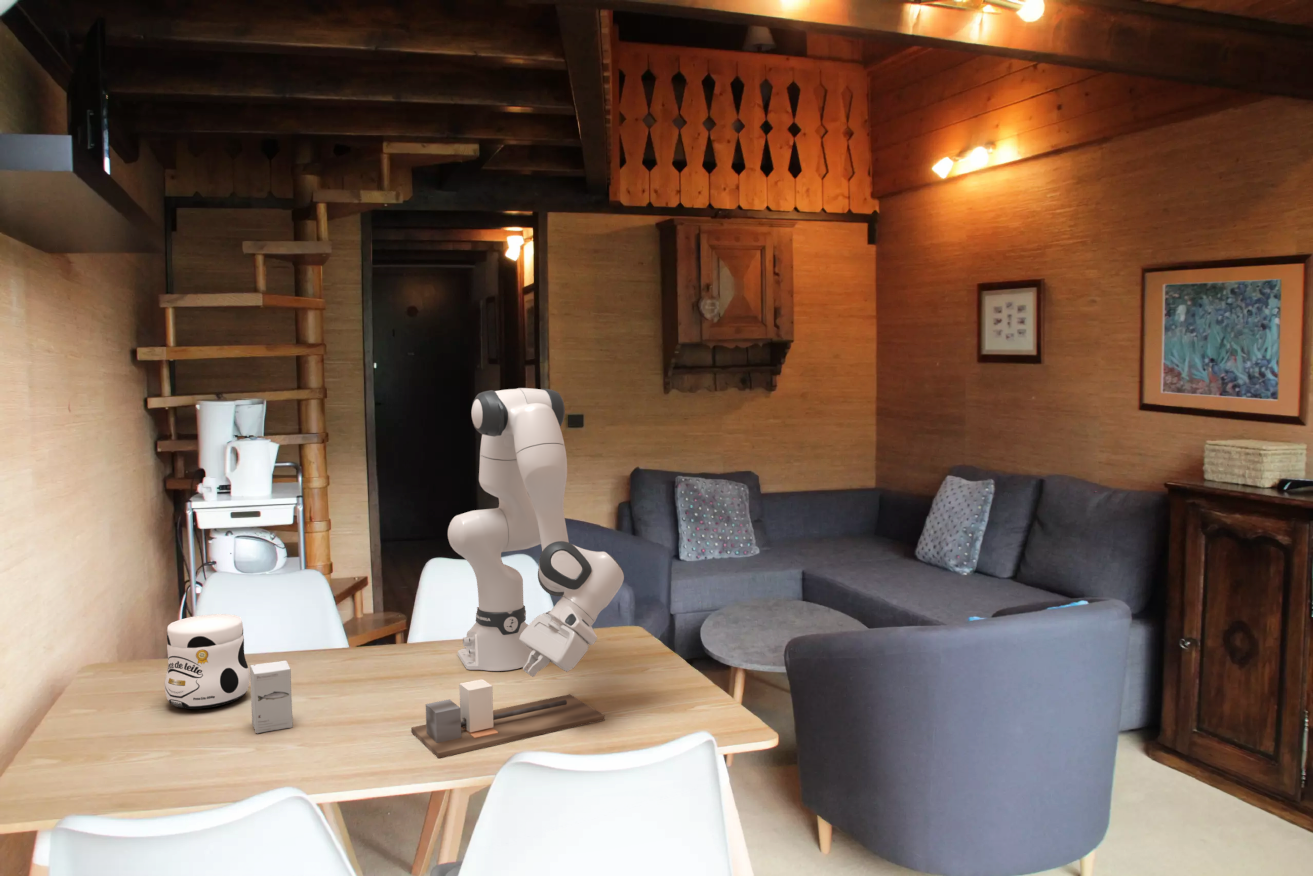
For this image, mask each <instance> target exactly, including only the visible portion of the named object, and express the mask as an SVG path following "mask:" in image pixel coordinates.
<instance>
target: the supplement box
mask: <svg viewBox="0 0 1313 876" xmlns="http://www.w3.org/2000/svg"><path fill="white" fill-rule="evenodd" d="M291 672H292V671H291V667H290V665H289V663H288V660H281V661H272V662H264V663H256V664H250V665H249V673H250V681H249V683H250V699H251V700H250V701H251V724H252V726H253V729H255V730H254V732H255V734H256V733H257V734H260V733H265V732H271V731H278V730H284V729H285V730H286V729H292V728H293V726H294V724H293V723H294V722H293V720H294V719H293V703H292V697H293V696H292V673H291Z"/></svg>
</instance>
